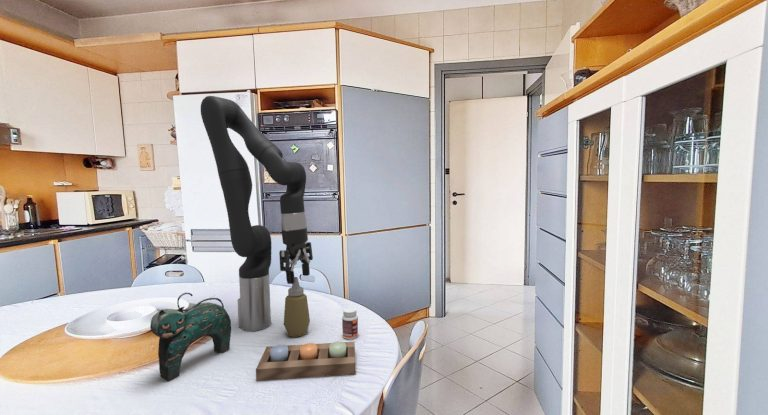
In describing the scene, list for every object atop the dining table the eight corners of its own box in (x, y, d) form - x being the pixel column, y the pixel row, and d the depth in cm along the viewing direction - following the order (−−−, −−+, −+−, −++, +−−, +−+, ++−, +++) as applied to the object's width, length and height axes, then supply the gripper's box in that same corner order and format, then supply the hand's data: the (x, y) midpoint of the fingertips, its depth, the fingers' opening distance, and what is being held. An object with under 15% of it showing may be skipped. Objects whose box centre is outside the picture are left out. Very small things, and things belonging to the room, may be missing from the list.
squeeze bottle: (315, 330, 110) (314, 275, 108) (299, 341, 102) (297, 282, 101) (295, 325, 113) (293, 272, 111) (278, 336, 106) (276, 279, 104)
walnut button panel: (256, 381, 83) (255, 369, 82) (266, 357, 93) (266, 346, 93) (355, 374, 85) (355, 362, 85) (354, 351, 96) (354, 341, 96)
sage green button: (329, 361, 87) (328, 350, 87) (329, 352, 92) (329, 341, 92) (346, 360, 88) (346, 349, 88) (346, 351, 92) (346, 340, 92)
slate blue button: (268, 365, 86) (268, 353, 86) (272, 355, 90) (272, 345, 90) (286, 363, 86) (286, 352, 86) (289, 354, 91) (289, 344, 90)
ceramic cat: (163, 387, 80) (157, 305, 79) (148, 379, 84) (142, 300, 82) (235, 349, 98) (232, 281, 96) (221, 344, 101) (218, 278, 99)
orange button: (299, 363, 87) (298, 351, 86) (301, 354, 91) (301, 343, 91) (316, 362, 87) (316, 350, 87) (318, 353, 92) (317, 342, 91)
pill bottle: (355, 340, 103) (355, 313, 102) (340, 338, 104) (339, 312, 103) (359, 333, 107) (359, 307, 107) (345, 331, 108) (344, 306, 107)
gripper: (296, 224, 112) (300, 272, 113) (269, 231, 99) (274, 286, 100) (316, 223, 110) (320, 273, 111) (291, 230, 96) (296, 286, 97)
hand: (298, 279), depth 105 cm, fingers open, 8 cm apart
